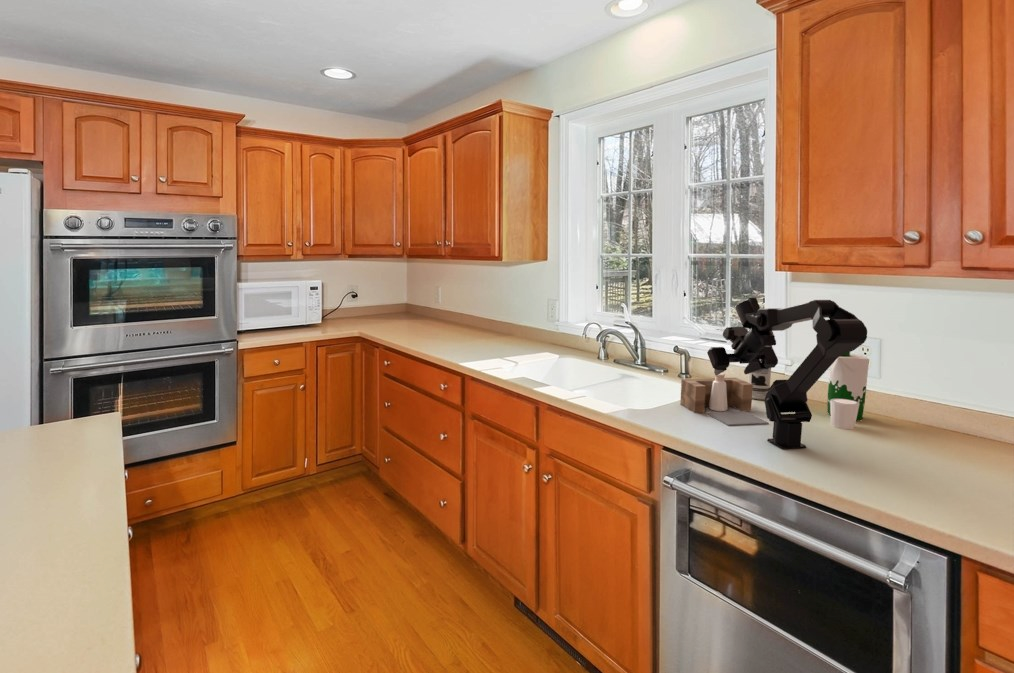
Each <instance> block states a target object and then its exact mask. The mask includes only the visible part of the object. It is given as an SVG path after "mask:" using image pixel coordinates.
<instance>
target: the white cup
mask: <svg viewBox="0 0 1014 673" xmlns="http://www.w3.org/2000/svg"><path fill="white" fill-rule="evenodd" d="M859 404H860V403H859V402H856V401H853V400H848V399H831V400H830V410H831V416H830V426H831V425H832V427H833V426H834V428H836V427H837V429H840V428H843V429H842V430H853V429H852V428H854V427H856V424H857V421H856V418H857V414H858V409H859ZM854 429H855V428H854Z"/></svg>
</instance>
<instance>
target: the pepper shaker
mask: <svg viewBox="0 0 1014 673" xmlns="http://www.w3.org/2000/svg"><path fill="white" fill-rule="evenodd" d="M714 376H715V377H714V378H715V381H713V384H712V390H711V396H710V402H709V406H708V409H709V408H710V409H711V411H713V412H727V411H728V405H727V390H726V382H725V381H724V378H726V377H725V376H726V373H724V372H722V373H720V374H718V375H715V374H714Z"/></svg>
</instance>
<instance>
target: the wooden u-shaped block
mask: <svg viewBox="0 0 1014 673" xmlns="http://www.w3.org/2000/svg"><path fill="white" fill-rule="evenodd" d="M713 381H715V377H714V378H709V377H708V378H685V379H684V378H683V379H681V382H680V383H681V384H680V385H681V386H680V406H682V407H684V408H686V409H687V408H688V410H689V411H691V412H692V411H693V413H694V414H695V413H705V407H709V402H710V396H711V390H712V384H713ZM724 381H725V382H726V390H727V406H731V407H733V408H735V409H737V410H738V411H746V412H747V411H752V402H753V399H752V389H753V384H750V383H748V381H745V380H742V379H740V378H738V377H725V378H724Z"/></svg>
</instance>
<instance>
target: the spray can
mask: <svg viewBox="0 0 1014 673" xmlns="http://www.w3.org/2000/svg"><path fill="white" fill-rule="evenodd" d="M767 346H771V347H772V348H773V345H767ZM771 374H772V368H769V369H764V370H760V371H756V372H753V373H749V374H747V375H748V376H747V377H748V378H747V382H748V383H750V384H753V389H752V400H756V399H757V400H758V401H765V397H766V394H767V392H768V391H769V390H767V389H768V388H770V387H771ZM757 400H756V401H757Z"/></svg>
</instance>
